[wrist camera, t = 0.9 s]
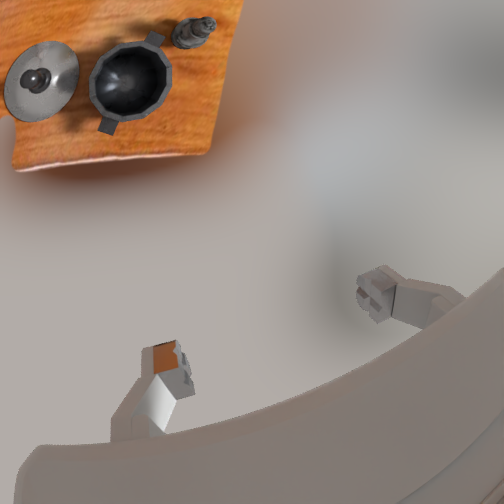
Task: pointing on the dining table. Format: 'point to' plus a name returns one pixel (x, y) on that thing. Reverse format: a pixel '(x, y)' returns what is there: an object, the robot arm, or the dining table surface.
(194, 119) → the dining table surface
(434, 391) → the robot arm
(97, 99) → the pot
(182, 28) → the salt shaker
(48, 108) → the lid
